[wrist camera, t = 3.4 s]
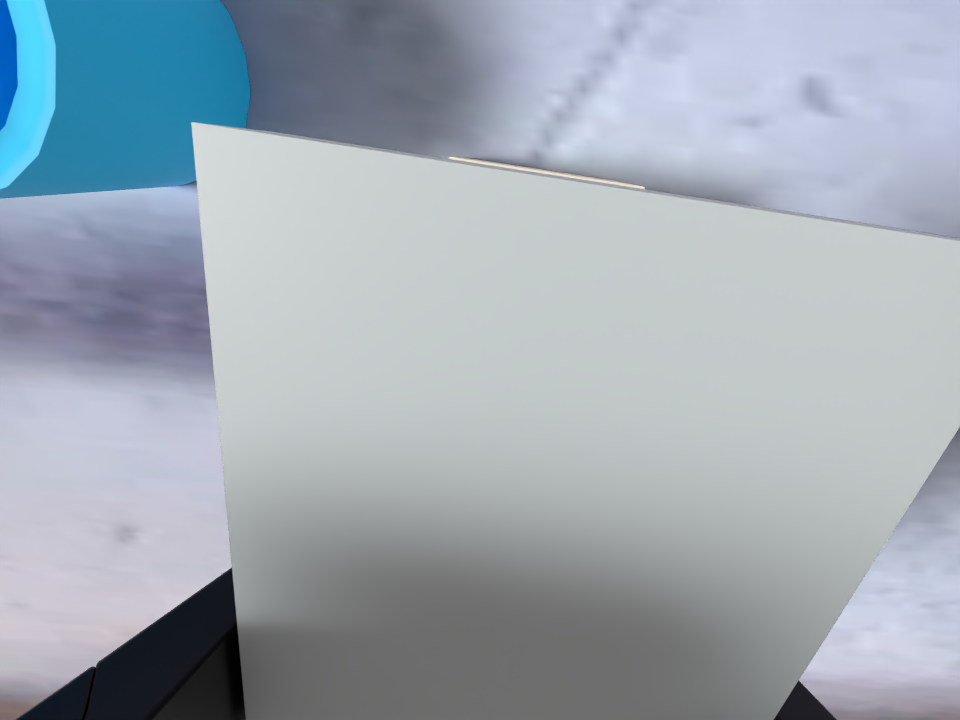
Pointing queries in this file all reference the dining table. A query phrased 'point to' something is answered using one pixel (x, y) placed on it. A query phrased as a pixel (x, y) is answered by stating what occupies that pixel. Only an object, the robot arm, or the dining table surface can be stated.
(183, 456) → the dining table surface
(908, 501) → the lid
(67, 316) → the dining table surface
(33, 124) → the mug
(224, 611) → the robot arm
